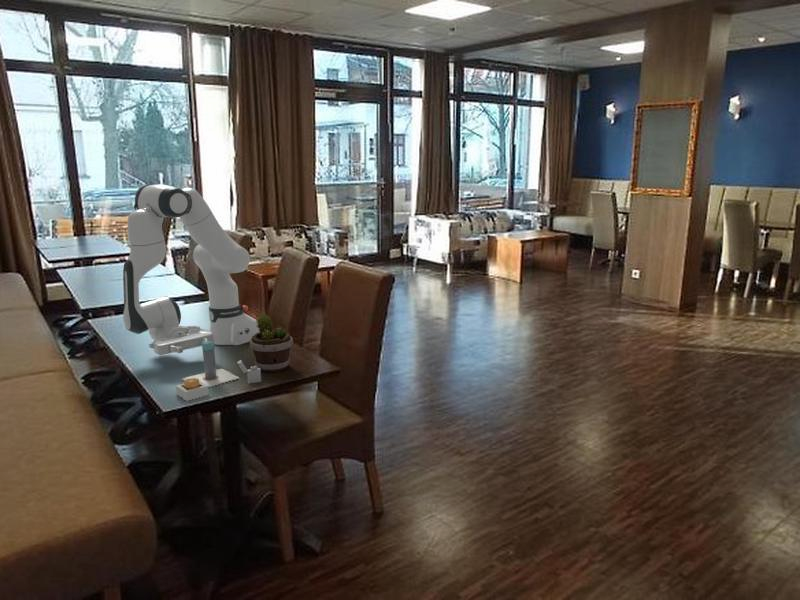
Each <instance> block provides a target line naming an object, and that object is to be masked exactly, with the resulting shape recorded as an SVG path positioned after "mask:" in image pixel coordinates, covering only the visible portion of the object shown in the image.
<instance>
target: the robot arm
mask: <svg viewBox="0 0 800 600" xmlns="http://www.w3.org/2000/svg"><path fill="white" fill-rule="evenodd" d="M133 208H134V210H133V211H132V212H131V213H129V215H128V216H127V231H128V232H127V233H128V240H129V245H130V251H129V255H128V258H127V260H126V261H125V262H124V263H123V271H122V273H123V274H122V275H123V276H122V279H123V280H122V283H123V285H122V286H123V312H122V319H123V320H122V321H123V324H124V327H125V329H126V330H128V332H131V333H134V334H135V335H137V334H138V335H140V334H143V333H145V332H147V331H148V334H149V336H150V338H151V339H152V340H153V342H151V343H149V345H148V347H149V348H150V349H153V352H154V353H155V354H157V355H159V356H163V355H168V354H169V355H170V354H173V353H176V354H181V353H183V352H184V351H185V350H189V349H195V348H200V347H202V343H203V342H206V341H213V342H214V346H215V345H217V346H240V345H243V344H245V343H250V339H251V338H252V336H254V335H255V334H256V333H259V332H260V331H259V330H258V329H259V328H257V325H258V322H257V320H255V319H254V318H252V317H251V316H249V314H246V313H245V312H247V311H248V305H245V304H243V305H242V304H240V302H239V301H240V300H239V288H238V285H237V283H236V282H235V281H234V280H233V278H232V277H231V275H230V274H237V273H243V272H244V271H246V270H247V268H248V267H249V265H250V261H251V258H250V253H249V252H248V250H247V249H246V248H244V247H243V246H241V245H240V244H238V243H237V241H235V240H234V239H233V238H232V237H231V236H230V235H229V234H228V232H226V231H225V230H224V229H223V227H222V226H221V225H220V223H219V222H218V219H217V218H216V217H215V215H214V213H213V211H212V209H211V208H210V206H209V205H208V203H207V201H206V200H205V199H204V198H203V197H202V195H201V194H200V193H199V191H197V190H196V189H195V188H192V187H185V188H184V187H183V188H179V187H177V186H171V185H169V184H163V183H162V184H154V183H149V184H145V185H142V186H140V187H139V188H138V189H137V191H136V193H135V196H134V207H133ZM165 218H171V219H175V218H176V219H177V218H179V219H180V221H181V222H182V224H183V226H184V227H185V229H186V231H187V232H188V234H189V236H190V237H191V239H192V240H193V241H194V242H195V244H197V245H196V246H195V247H194V250H193V252H192V259H193V261H194V263H195V264H196V266H197V267H199V269H200V271H201V272H202V275H203V276H204V279H205V281H206V286H207V291H208V299H209V307H208V316H209V322H210V323H209V325H210V326H209V330H208V329H205V328H201V326H200V325H188V326H186V325H185V326H184V325H180V324H181V320H182V312H181V309H180V306H179V305H178V302H176V301H175V300H174V299H172V298H171V297H169V296H167V295H166V296H162V297H158V298H155V299H151V300H149V301H146V302H142V303H140V293H139V292H140V291H139V286H140V285H139V284H140V282H141V279H142V278H144V276H145V275H146V274H147V273H148V272H150V271H151V270H154V268H157V266H159V265H160V264H161V263H162V262H163V261H164V259H165V257H166V255H167V246H166V241H165V236H164V231H163V222H164V219H165ZM255 321H256V322H255Z"/></svg>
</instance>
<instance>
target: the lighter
mask: <svg viewBox="0 0 800 600" xmlns="http://www.w3.org/2000/svg"><path fill="white" fill-rule="evenodd" d="M237 364H238V366H239V368H240V369H241V370H242V372H243V374H246V377H247V378H246V379H247V380H246V381H247V383H248V384H250V383H251V384H255V383H261V382H262V371H261V369H260V368H258V367H257V366H256V365H253V366H252V365H251V366H250V367H249V368H248V369H247V367H246V365H245V364H244V362H243V361H242V359H240V360H238V361H237Z"/></svg>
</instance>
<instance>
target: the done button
mask: <svg viewBox="0 0 800 600" xmlns="http://www.w3.org/2000/svg"><path fill="white" fill-rule="evenodd" d="M183 384H184V388H185V389H187V390H190V389H194V388H197V387H199V386H200V385H199V379H197V378H190V379H186V380H185V381H183Z"/></svg>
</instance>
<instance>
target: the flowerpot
mask: <svg viewBox="0 0 800 600" xmlns="http://www.w3.org/2000/svg"><path fill="white" fill-rule="evenodd" d="M267 314H268V313H266V312H261V313H260V315H259V316H257V318H256V321H257V323H258V325H257V328H259V329H258V330H259V331H260V332H259V333H256V334H255V335H254V336H252V338H251V339H250V342H249V347H250V349H252V351H253V355H254V358H255V359H254V364H255V365H254V366H257V367H258V368H260V369H261V372H264V373H267V372H268V373H277V372H281V371H284V370H286V368H288V365H289V364H290V360H291V359H290V358H291V357H290V354H291V353H290V352H291V348H292V346H293V344H294V340H293V337H292V336H291V335H290V333H288V332H286V330H285V328H283V327H281V326H279V325H278V327H277V328H275V329H274V326H275V325H274V323H273V318H272V316H269V315H267ZM256 321H255V322H256Z"/></svg>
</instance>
